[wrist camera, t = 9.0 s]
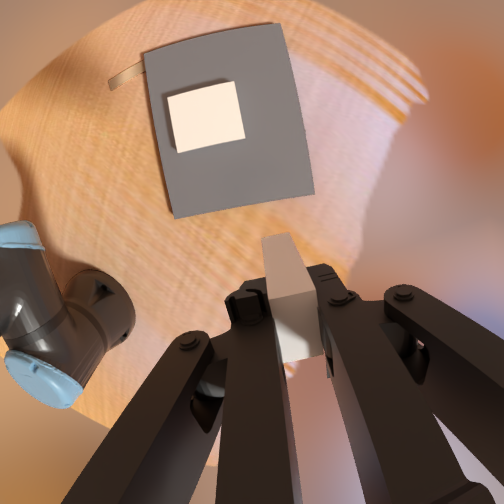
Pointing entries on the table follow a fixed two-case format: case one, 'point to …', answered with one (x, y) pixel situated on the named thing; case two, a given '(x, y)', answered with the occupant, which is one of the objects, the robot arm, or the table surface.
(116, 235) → the table surface
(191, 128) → the tile
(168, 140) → the slate board
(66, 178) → the table surface
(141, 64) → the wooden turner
